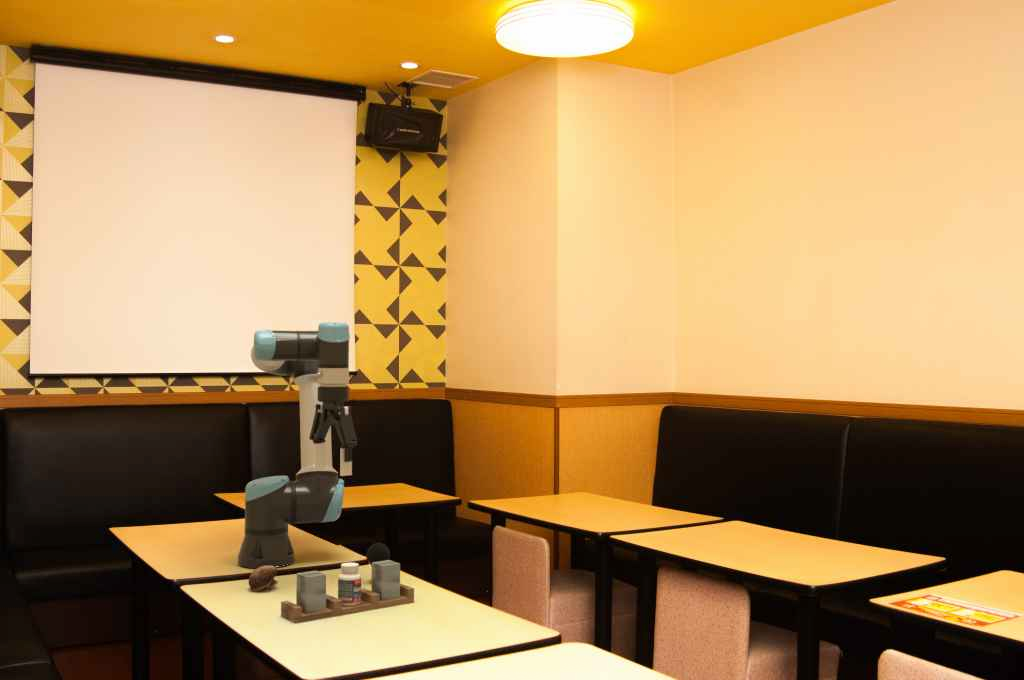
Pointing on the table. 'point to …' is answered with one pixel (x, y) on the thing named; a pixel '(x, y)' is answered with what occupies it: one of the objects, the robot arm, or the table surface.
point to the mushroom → (263, 578)
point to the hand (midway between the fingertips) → (332, 472)
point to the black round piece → (378, 553)
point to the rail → (321, 605)
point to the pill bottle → (349, 584)
